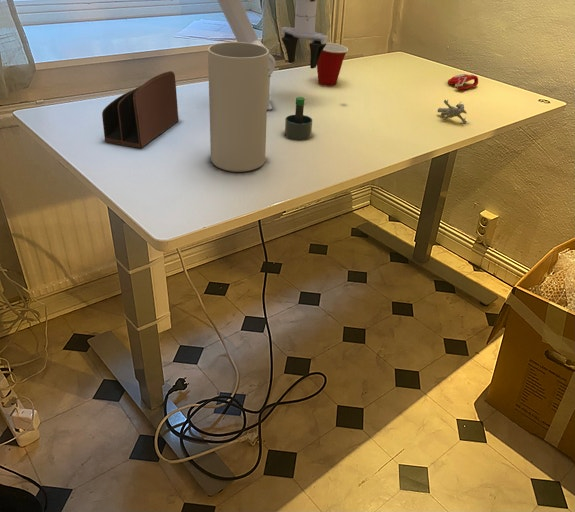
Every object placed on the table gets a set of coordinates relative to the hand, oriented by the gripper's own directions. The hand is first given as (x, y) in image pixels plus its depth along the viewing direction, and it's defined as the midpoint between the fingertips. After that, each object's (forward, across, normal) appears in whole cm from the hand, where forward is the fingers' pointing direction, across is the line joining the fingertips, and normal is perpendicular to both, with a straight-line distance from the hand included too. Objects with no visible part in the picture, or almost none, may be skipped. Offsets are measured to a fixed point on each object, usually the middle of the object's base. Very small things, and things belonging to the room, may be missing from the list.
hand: (302, 64), depth 161 cm
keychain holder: (+8, -34, -48) cm, 59 cm away
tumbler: (+10, -16, +24) cm, 30 cm away
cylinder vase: (+10, -14, +47) cm, 50 cm away
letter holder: (+10, +15, +49) cm, 52 cm away
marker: (+9, -16, +24) cm, 30 cm away
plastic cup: (+10, +1, -18) cm, 21 cm away
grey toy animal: (+10, -42, -13) cm, 45 cm away
